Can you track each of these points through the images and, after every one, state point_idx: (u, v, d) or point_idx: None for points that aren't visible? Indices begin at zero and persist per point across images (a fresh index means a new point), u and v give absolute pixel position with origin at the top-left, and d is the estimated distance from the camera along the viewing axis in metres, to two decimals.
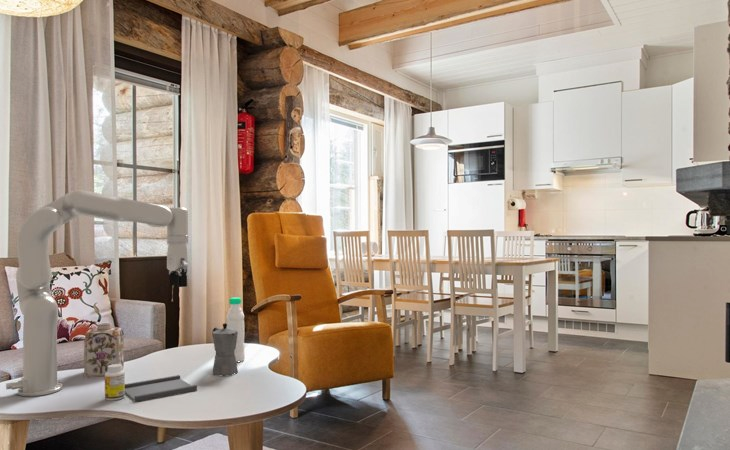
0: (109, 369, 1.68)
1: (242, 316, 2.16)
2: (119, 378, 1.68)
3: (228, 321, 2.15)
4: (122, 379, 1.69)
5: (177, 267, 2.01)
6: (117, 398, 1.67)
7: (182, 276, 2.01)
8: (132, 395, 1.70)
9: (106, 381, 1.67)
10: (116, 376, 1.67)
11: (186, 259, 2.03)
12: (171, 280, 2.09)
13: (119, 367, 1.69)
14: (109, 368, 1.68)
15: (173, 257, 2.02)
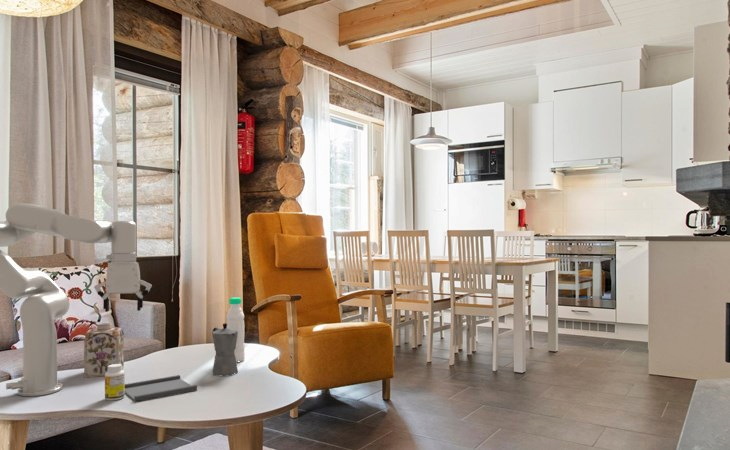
0: (109, 369, 1.68)
1: (242, 316, 2.16)
2: (119, 378, 1.68)
3: (228, 321, 2.15)
4: (122, 379, 1.69)
5: (139, 288, 1.79)
6: (117, 398, 1.67)
7: (142, 298, 1.81)
8: (132, 395, 1.70)
9: (106, 381, 1.67)
10: (116, 376, 1.67)
11: None
12: (108, 306, 1.77)
13: (119, 367, 1.69)
14: (109, 368, 1.68)
15: (132, 278, 1.78)
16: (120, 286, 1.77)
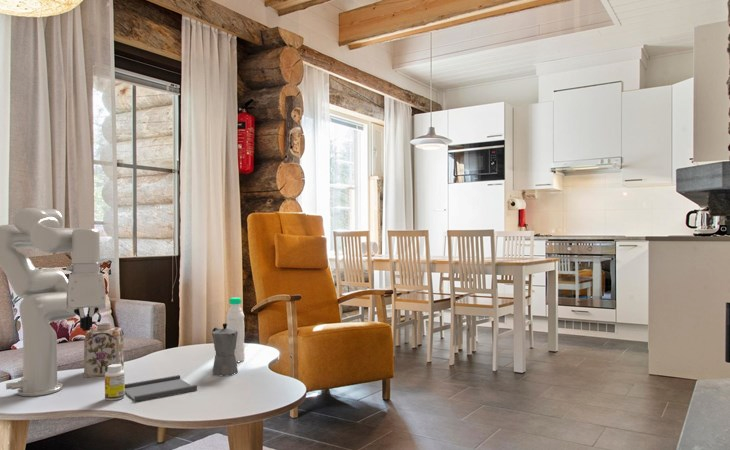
0: (109, 369, 1.68)
1: (242, 316, 2.16)
2: (119, 378, 1.68)
3: (228, 321, 2.15)
4: (122, 379, 1.69)
5: None
6: (117, 398, 1.67)
7: None
8: (132, 395, 1.70)
9: (106, 381, 1.67)
10: (116, 376, 1.67)
11: None
12: None
13: (119, 367, 1.69)
14: (109, 368, 1.68)
15: (99, 289, 1.65)
16: (86, 299, 1.62)
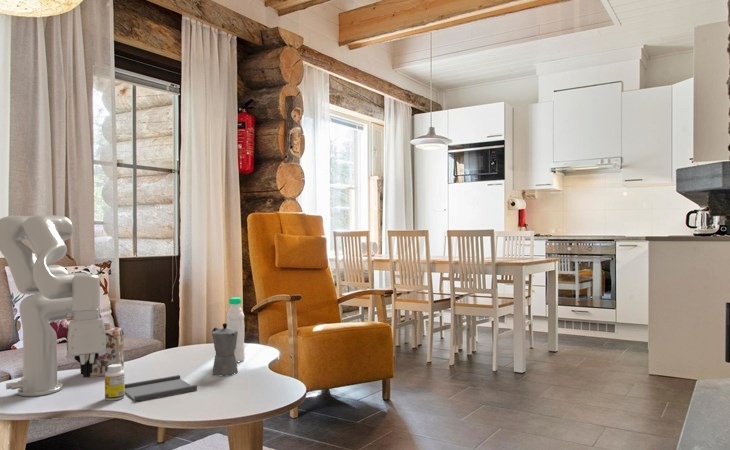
0: (109, 369, 1.68)
1: (242, 316, 2.16)
2: (119, 378, 1.68)
3: (228, 321, 2.15)
4: (122, 379, 1.69)
5: (105, 347, 1.66)
6: (117, 398, 1.67)
7: None
8: (132, 395, 1.70)
9: (106, 381, 1.67)
10: (116, 376, 1.67)
11: None
12: None
13: (119, 367, 1.69)
14: (109, 368, 1.68)
15: (99, 336, 1.64)
16: (86, 346, 1.62)
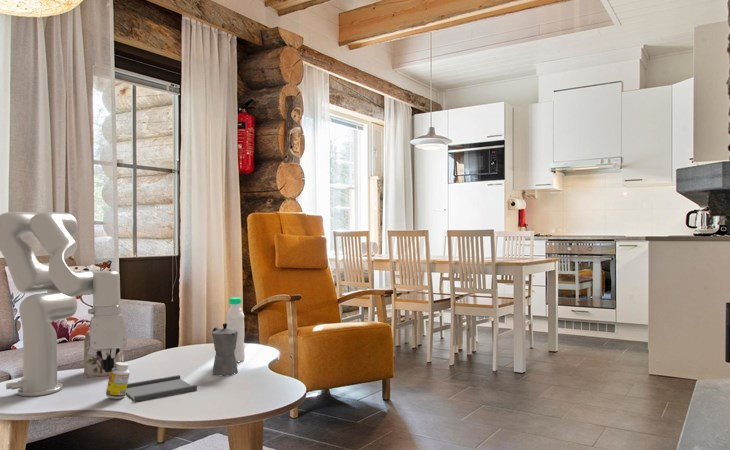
0: (116, 366, 1.68)
1: (242, 316, 2.16)
2: (124, 377, 1.68)
3: (228, 321, 2.15)
4: (126, 379, 1.69)
5: None
6: (118, 397, 1.67)
7: None
8: (132, 395, 1.70)
9: (111, 378, 1.68)
10: (122, 375, 1.68)
11: None
12: None
13: (126, 366, 1.70)
14: (116, 365, 1.68)
15: (120, 331, 1.68)
16: (107, 341, 1.65)
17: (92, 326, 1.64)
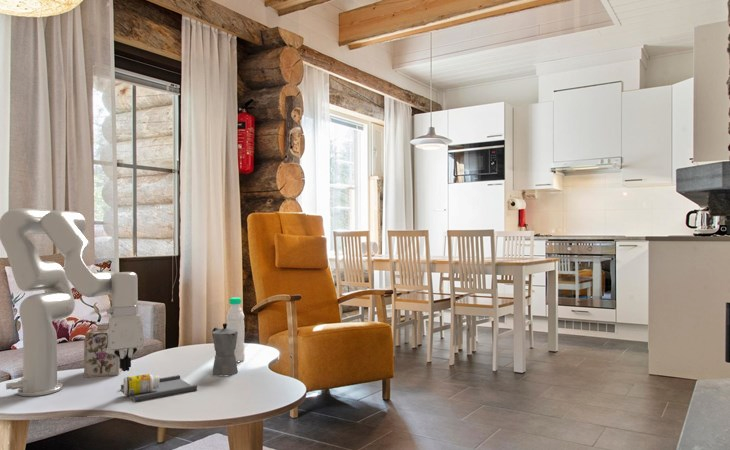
0: (156, 378, 1.74)
1: (242, 316, 2.16)
2: (147, 389, 1.72)
3: (228, 321, 2.15)
4: (145, 391, 1.72)
5: None
6: (126, 389, 1.69)
7: None
8: (132, 395, 1.70)
9: (144, 376, 1.72)
10: (149, 386, 1.72)
11: None
12: None
13: (157, 387, 1.74)
14: (157, 378, 1.74)
15: (137, 331, 1.71)
16: (125, 341, 1.69)
17: (110, 326, 1.67)
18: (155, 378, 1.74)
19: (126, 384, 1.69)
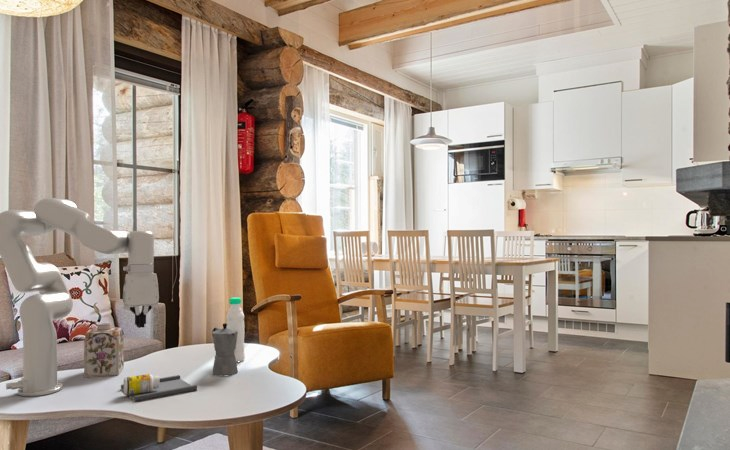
0: (156, 378, 1.74)
1: (242, 316, 2.16)
2: (147, 389, 1.72)
3: (228, 321, 2.15)
4: (145, 391, 1.72)
5: None
6: (126, 389, 1.69)
7: None
8: (132, 395, 1.70)
9: (144, 377, 1.72)
10: (149, 386, 1.72)
11: None
12: None
13: (157, 387, 1.74)
14: (157, 378, 1.74)
15: (153, 289, 1.74)
16: (141, 298, 1.72)
17: (127, 282, 1.70)
18: (155, 378, 1.74)
19: (126, 384, 1.69)
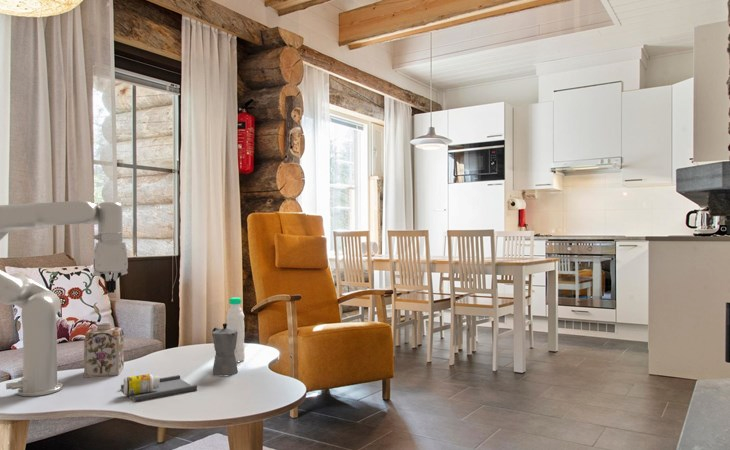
0: (156, 378, 1.74)
1: (242, 316, 2.16)
2: (147, 389, 1.72)
3: (228, 321, 2.15)
4: (145, 391, 1.72)
5: None
6: (126, 389, 1.69)
7: None
8: (132, 395, 1.70)
9: (144, 377, 1.72)
10: (149, 386, 1.72)
11: None
12: None
13: (157, 387, 1.74)
14: (157, 378, 1.74)
15: (122, 256, 1.86)
16: (110, 265, 1.83)
17: (97, 250, 1.81)
18: (155, 378, 1.74)
19: (126, 384, 1.69)
